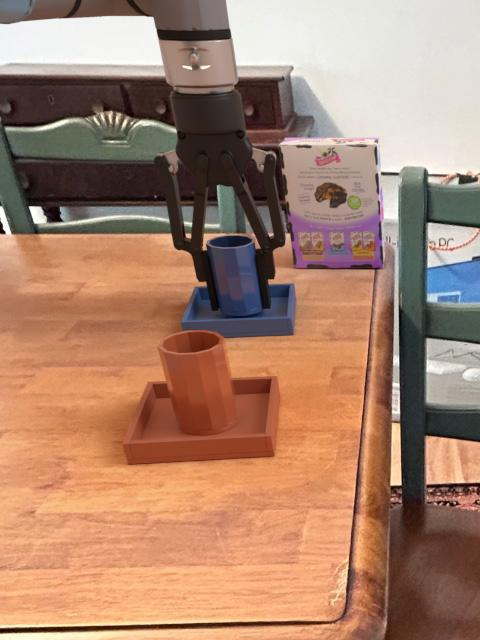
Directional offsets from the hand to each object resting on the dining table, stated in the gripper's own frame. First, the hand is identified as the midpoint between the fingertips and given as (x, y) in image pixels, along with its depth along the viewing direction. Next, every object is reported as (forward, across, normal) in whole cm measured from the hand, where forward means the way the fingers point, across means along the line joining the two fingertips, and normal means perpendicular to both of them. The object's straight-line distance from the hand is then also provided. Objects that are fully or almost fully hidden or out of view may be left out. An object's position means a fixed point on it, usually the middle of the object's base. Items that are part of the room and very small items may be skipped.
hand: (241, 305), depth 94 cm
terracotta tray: (+2, -1, -30) cm, 30 cm away
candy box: (+2, +13, +22) cm, 26 cm away
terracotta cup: (+1, -1, -30) cm, 30 cm away
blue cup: (0, 0, 0) cm, 0 cm away
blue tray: (+2, 0, 0) cm, 2 cm away
